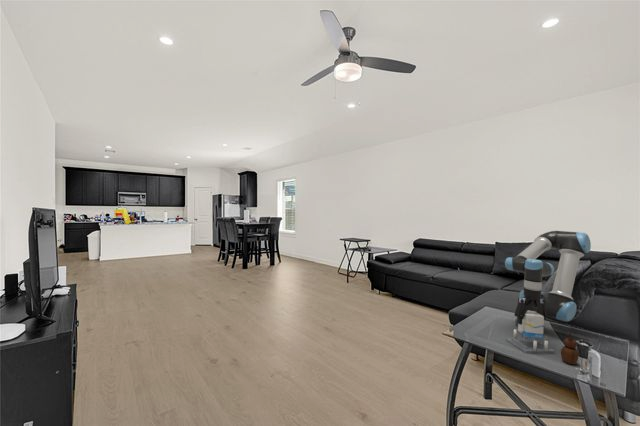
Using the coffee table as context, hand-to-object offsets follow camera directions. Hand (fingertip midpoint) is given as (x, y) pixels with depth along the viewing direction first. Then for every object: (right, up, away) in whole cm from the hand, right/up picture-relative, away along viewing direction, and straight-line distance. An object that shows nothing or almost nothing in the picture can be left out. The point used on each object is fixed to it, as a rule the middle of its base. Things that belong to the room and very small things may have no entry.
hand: (530, 330), depth 151 cm
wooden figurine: (+8, -9, -15) cm, 19 cm away
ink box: (0, -2, 0) cm, 2 cm away
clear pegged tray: (0, -9, 0) cm, 9 cm away
